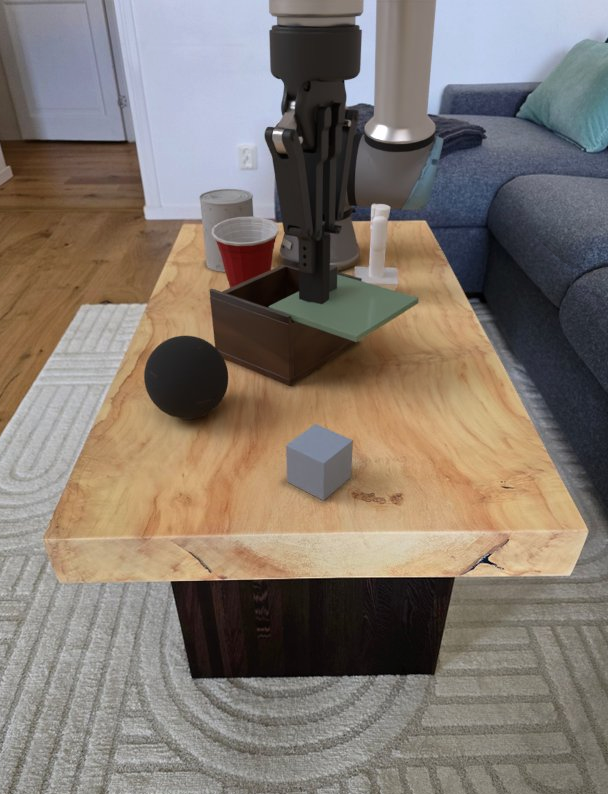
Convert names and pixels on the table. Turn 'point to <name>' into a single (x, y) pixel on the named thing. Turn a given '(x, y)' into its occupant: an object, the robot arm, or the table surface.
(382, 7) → the robot arm
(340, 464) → the block
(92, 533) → the table surface
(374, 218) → the figurine
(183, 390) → the speaker
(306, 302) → the slide door
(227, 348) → the walnut box
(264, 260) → the plastic cup
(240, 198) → the grey tin can
